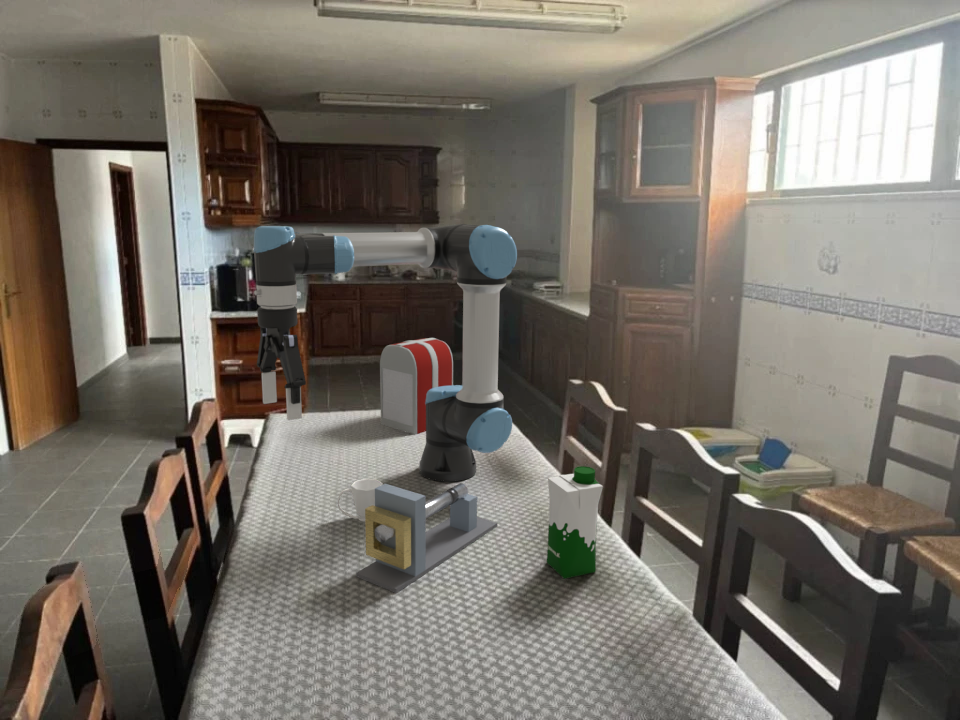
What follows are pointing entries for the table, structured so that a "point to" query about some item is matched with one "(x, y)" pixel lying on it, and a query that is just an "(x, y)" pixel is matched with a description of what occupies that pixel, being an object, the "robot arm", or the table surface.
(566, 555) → the milk carton
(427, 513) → the shaft
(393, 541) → the rig
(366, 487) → the cup
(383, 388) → the red grey striped box
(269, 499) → the table surface
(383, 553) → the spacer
